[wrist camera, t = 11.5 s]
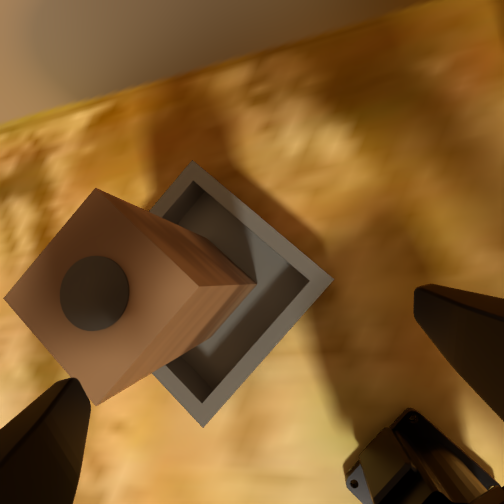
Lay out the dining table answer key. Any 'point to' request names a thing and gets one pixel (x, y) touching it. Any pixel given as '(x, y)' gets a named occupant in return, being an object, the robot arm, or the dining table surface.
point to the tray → (252, 307)
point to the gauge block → (125, 294)
